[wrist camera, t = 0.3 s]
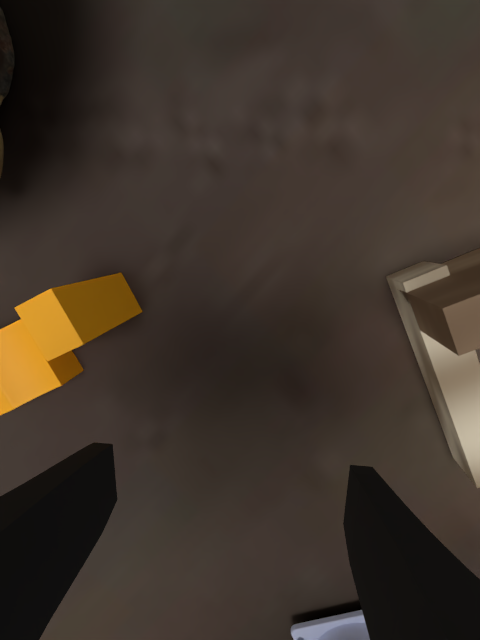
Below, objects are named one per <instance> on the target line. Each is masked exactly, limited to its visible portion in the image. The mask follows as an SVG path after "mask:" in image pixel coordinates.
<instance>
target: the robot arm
mask: <svg viewBox="0 0 480 640" xmlns="http://www.w3.org/2000/svg"><path fill="white" fill-rule="evenodd" d="M116 501H117V492H116V480H115V468H114V456H113V444H104V443H92V444H90V445H88V446H87V447H85V448H83V449H81V450H79V451H78V452H76V453H74V454H73V455H71V456H69V457H68V458H66V459H64V460H63V461H61V462H59V463H58V464H56V465H54V466H53V467H51V468H49V469H48V470H46V471H44V472H42V473H41V474H39V475H37V476H36V477H34V478H32V479H31V480H29V481H27V482H26V483H24V484H22V485H20V486H19V487H17V488H15V489H13V490H11V491H9V492H8V493H6V494H4V495H2V496H0V640H39V639H40V637H41V635H42V633H43V632H44V630H45V628H46V626H47V625H48V623H49V621H50V619H51V617H52V616H53V614H54V613H55V611H56V609H57V608H58V606H59V604H60V603H61V601H62V599H63V598H64V596H65V594H66V593H67V591H68V589H69V588H70V586H71V584H72V583H73V581H74V579H75V578H76V576H77V574H78V573H79V571H80V570H81V568H82V566H83V565H84V563H85V561H86V560H87V558H88V556H89V554H90V553H91V551H92V549H93V548H94V546H95V544H96V543H97V541H98V539H99V538H100V536H101V534H102V532H103V530H104V528H105V526H106V524H107V521H108V519H109V517H110V515H111V513H112V510H113V508H114V506H115V503H116ZM343 524H344V530H345V537H346V544H347V550H348V556H349V562H350V566H351V570H352V574H353V578H354V581H355V585H356V589H357V593H358V597H359V600H360V604H361V608H362V610H358V611H353V612H349V613H344V614H340V615H335V616H330V617H326V618H321V619H316V620H312V621H307V622H302V623H298V624H294V625H293V626H292V627H291V635H292V637H293V639H294V640H480V579H479V578H477V577H476V576H475V575H474V574H473V573H472V572H471V571H470V570H469V569H468V568H467V567H466V566H464V565H463V564H462V563H461V562H460V561H459V560H458V559H457V558H456V557H455V556H454V555H453V554H452V553H451V552H450V551H449V550H448V549H447V548H446V547H445V546H444V545H443V544H442V543H441V542H440V541H439V540H438V539H437V538H436V537H435V536H434V535H433V534H432V533H431V532H430V531H429V530H428V529H427V528H426V527H425V525H424V524H423V523H422V522H421V521H420V520H419V519H418V518H417V517H416V516H415V515H414V514H413V513H412V512H411V510H410V509H409V508H408V507H407V506H406V505H405V504H404V503H403V501H402V500H401V499H400V498H399V497H398V496H397V495H396V494H395V492H394V491H393V490H392V489H391V488H390V487H389V486H388V484H387V483H386V482H385V481H384V480H383V479H382V478H381V476H380V475H379V474H378V473H377V472H376V471H375V470H374V468H373V467H367V466H356V465H350V471H349V480H348V489H347V497H346V506H345V515H344V523H343Z"/></svg>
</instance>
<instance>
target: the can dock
mask: <svg viewBox="0 0 480 640" xmlns="http://www.w3.org/2000/svg"><path fill="white" fill-rule="evenodd" d="M386 278H387V281H388V284H389V286H390V289H391V292H392V295H393V297H394V300H395V303H396V305H397V308H398V311H399V313H400V316H401V319H402V322H403V324H404V327H405V330H406V332H407V335H408V338H409V340H410V343H411V346H412V348H413V351H414V354H415V357H416V359H417V362H418V365H419V367H420V370H421V373H422V375H423V378H424V381H425V383H426V386H427V389H428V392H429V394H430V397H431V400H432V402H433V405H434V408H435V410H436V413H437V416H438V419H439V421H440V424H441V427H442V429H443V432H444V435H445V437H446V440H447V443H448V445H449V448H450V451H451V454H452V456H453V458H454V460H455V461H456V462H457V463H458V465H459V466H460V467H461V468H462V470H463V471H464V472H465V473H466V475H467V476H468V477H469V478H470V480H471V481H472V482H473V483H474V485H475V486H476V487H477V488H480V363H479V360H478V357H477V354H476V351H475V350H477V349H480V248H478V249H476V250H473V251H471V252H468V253H466V254H464V255H461V256H459V257H456V258H454V259H451V260H449V261H446V262H444V263H442V264H438V263H432V262H426V261H422V262H420V263H417V264H415V265H412V266H410V267H408V268H405V269H403V270H400V271H398V272H396V273H393V274H391V275H388V276H386Z"/></svg>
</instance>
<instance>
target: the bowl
mask: <svg viewBox="0 0 480 640" xmlns="http://www.w3.org/2000/svg"><path fill="white" fill-rule="evenodd" d="M14 60H15V58H14V50H13V45H12V39H11V36H10V34H9V30H8V27H7V23H6V19H5V15H4V12H3V10H2V9H1V7H0V106H1V104H2V100H3V99H4V98H5V97H6V96H7V94H8V93H9V90H10V85H11V81H12V77H13V69H14V66H15V62H14ZM3 156H4V144H3V138H2V133H1V130H0V178H1V174H2V168H3Z"/></svg>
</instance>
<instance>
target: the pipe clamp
mask: <svg viewBox="0 0 480 640" xmlns="http://www.w3.org/2000/svg"><path fill="white" fill-rule="evenodd" d="M15 310H16V311H17V313H18V314H19V316H20V318H21V319H20V320H18V321H16V322H14V323H12V324H10V325H8V326H6V327H4V328H2V329H0V415H2V414H4V413H6V412H9V411H11V410H13V409H15V408H17V407H19V406H21V405H22V404H24V403H26V402H28V401H30V400H32V399H34V398H36V397H38V396H40V395H42V394H44V393H46V392H48V391H51V390H53V389H55V388H57V387H59V386H62V385H63V384H65V383H66V382H68V381H69V380H70V379H72V378H73V377H75V376H76V375H78V374H79V373H81V372H82V371H83V368H82V366H81V365H80V363H79V361H78V360H77V358H76V356H75V355H74V353H73V351H72V350H73V349H75V348H77V347H79V346H81V345H83V344H85V343H87V342H89V341H91V340H92V339H94V338H96V337H98V336H100V335H101V334H103V333H105V332H107V331H109V330H110V329H112V328H114V327H116V326H118V325H120V324H121V323H123V322H125V321H127V320H129V319H130V318H132V317H134V316H136V315H138V314H139V313H141V312H143V311H142V310H141V308H140V306H139V304H138V302H137V300H136V299H135V297H134V295H133V293H132V291H131V289H130V287H129V286H128V284H127V282H126V280H125V278H124V276H123V275H122V273H117V274H113V275H108V276H104V277H100V278H95V279H91V280H86V281H82V282H78V283H73V284H69V285H64V286H60V287H55V288H51V289H49V290H47V291H45V292H43V293H42V294H40V295H38V296H36V297H34V298H32V299H30V300H28V301H26V302H25V303H23V304H21V305H19V306H17V307H15Z"/></svg>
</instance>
